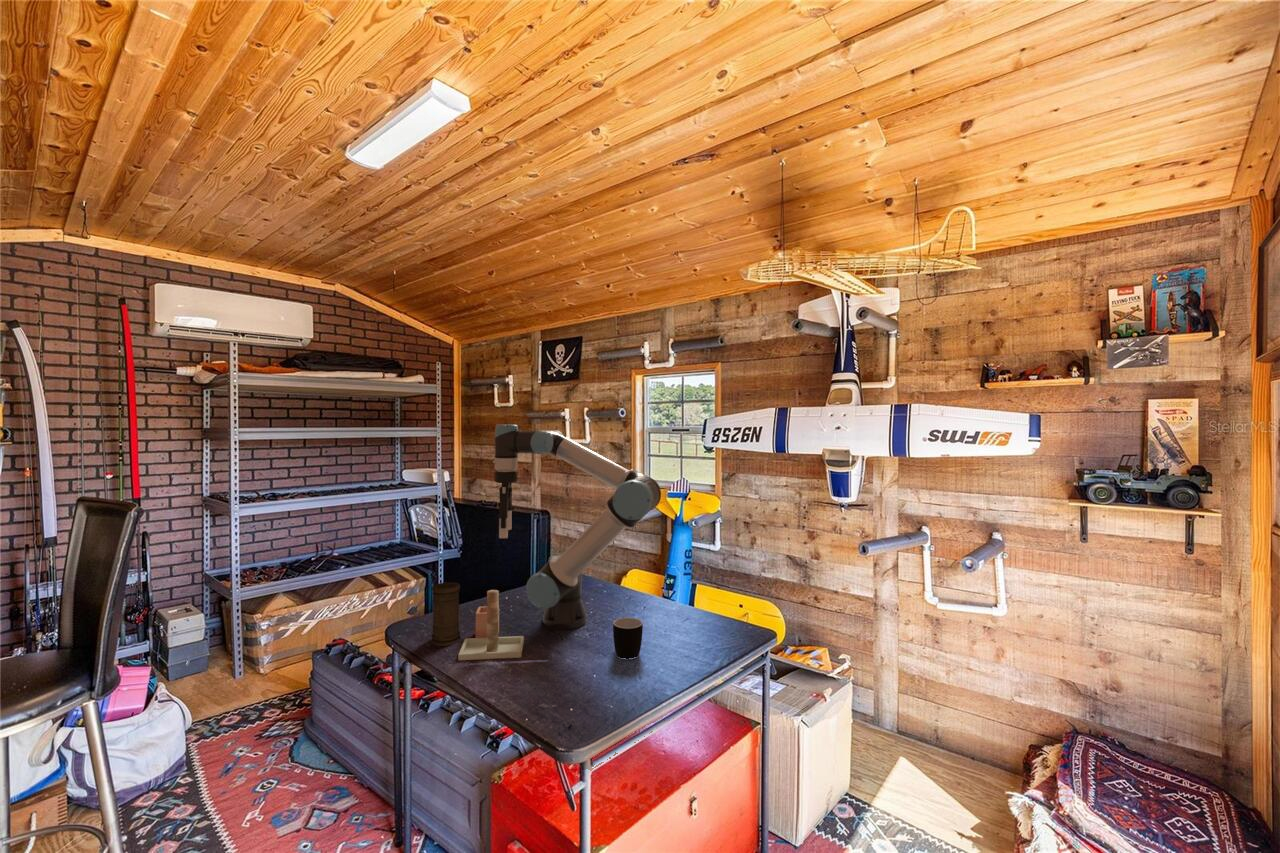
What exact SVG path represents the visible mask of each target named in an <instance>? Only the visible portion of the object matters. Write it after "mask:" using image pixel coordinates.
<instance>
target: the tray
mask: <svg viewBox="0 0 1280 853" xmlns="http://www.w3.org/2000/svg"><path fill="white" fill-rule="evenodd" d="M524 640H525V637H524V635H519V636H517V635H515V636H498V651H496V652H487V638H476V637H474V638H473V637H471V638H470V637H469V638H464V641H463V644H462V645H461V647H460V650H459V652H458V658H457V659H458V661H472V660H473V661H474V660H475V661H476V660H492V659H513V658H516V659H517V658H522V653H523V649H524V643H525V642H524Z"/></svg>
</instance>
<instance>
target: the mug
mask: <svg viewBox="0 0 1280 853" xmlns="http://www.w3.org/2000/svg"><path fill="white" fill-rule="evenodd" d="M643 624H644V623H643V621H642V620H641V619H639V618H636V617H620V618H617V619H615V620H614V621H613V623H612V632H613V633H612V635H613V645H614V652H615V655H616V657H617V656H618V657H620V658H626V659H629V658H634V657H637V656H638V657H639V655H640V653H641V648H642V642H643V630H644V629H643V628H644V625H643ZM618 657H617V658H618ZM638 657H637V658H638Z"/></svg>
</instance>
